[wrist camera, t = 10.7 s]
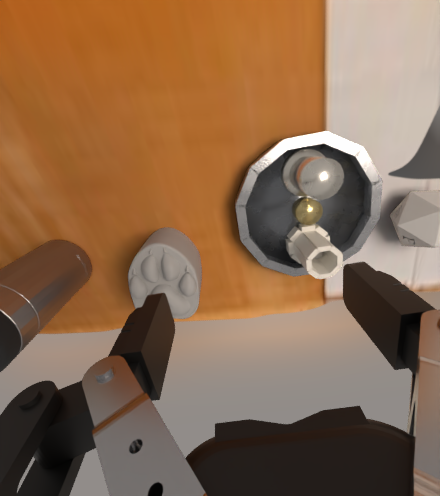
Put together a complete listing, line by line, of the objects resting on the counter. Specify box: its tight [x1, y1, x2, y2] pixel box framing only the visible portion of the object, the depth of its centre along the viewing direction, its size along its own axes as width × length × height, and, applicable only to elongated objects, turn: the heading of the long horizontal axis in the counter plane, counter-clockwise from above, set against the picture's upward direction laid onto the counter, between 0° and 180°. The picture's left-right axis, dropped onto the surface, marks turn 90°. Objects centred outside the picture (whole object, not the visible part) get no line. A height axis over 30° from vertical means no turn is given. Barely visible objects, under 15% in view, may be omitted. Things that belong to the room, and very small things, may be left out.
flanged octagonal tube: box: [286, 223, 343, 279], centre depth 38 cm, size 6×6×8 cm
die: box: [390, 190, 440, 248], centre depth 37 cm, size 8×9×10 cm
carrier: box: [235, 131, 382, 276], centre depth 36 cm, size 21×21×9 cm
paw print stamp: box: [128, 228, 202, 319], centre depth 40 cm, size 10×13×9 cm
